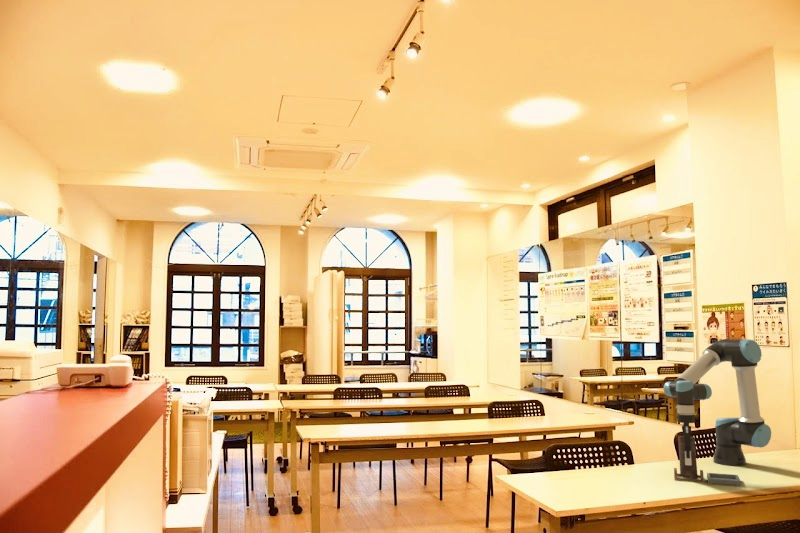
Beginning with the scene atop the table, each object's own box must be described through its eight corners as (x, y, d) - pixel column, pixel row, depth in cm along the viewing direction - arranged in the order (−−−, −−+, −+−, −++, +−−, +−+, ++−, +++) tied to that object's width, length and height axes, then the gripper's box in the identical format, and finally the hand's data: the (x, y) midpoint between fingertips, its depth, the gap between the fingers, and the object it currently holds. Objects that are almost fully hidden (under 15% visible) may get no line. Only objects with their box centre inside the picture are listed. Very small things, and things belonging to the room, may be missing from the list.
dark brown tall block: (679, 479, 299) (677, 435, 301) (680, 476, 306) (678, 433, 307) (697, 481, 296) (695, 437, 297) (698, 478, 302) (696, 434, 304)
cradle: (674, 475, 308) (673, 466, 308) (702, 477, 303) (702, 468, 303) (674, 480, 298) (674, 471, 299) (704, 482, 293) (703, 473, 294)
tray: (706, 477, 303) (706, 472, 303) (737, 480, 298) (737, 474, 298) (708, 484, 291) (708, 478, 291) (740, 486, 286) (740, 481, 286)
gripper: (676, 410, 314) (678, 458, 312) (677, 416, 296) (679, 467, 293) (693, 411, 311) (695, 459, 309) (695, 417, 293) (697, 468, 291)
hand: (688, 463), depth 301 cm, fingers closed on dark brown tall block, 7 cm apart
